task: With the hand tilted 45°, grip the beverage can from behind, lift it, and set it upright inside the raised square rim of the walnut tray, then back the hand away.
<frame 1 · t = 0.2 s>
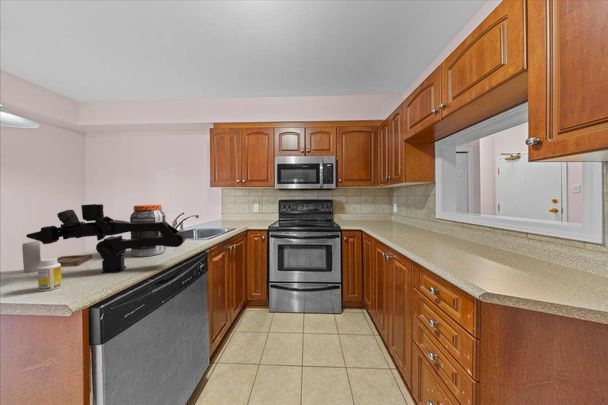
hand: (36, 233, 94), 17 cm above the counter, tool horizontal, fingers open, 9 cm apart
walnut tray: (69, 262, 111), on the counter
supplement bottle: (50, 289, 83), on the counter
beverage can: (32, 271, 100), on the counter
supplement tub: (149, 253, 128), on the counter
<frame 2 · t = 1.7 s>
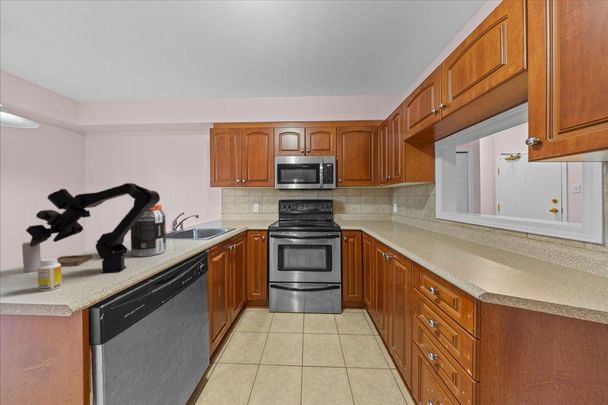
hand: (43, 243, 99), 12 cm above the counter, tool tilted 45°, fingers open, 9 cm apart
nothing on the counter moved.
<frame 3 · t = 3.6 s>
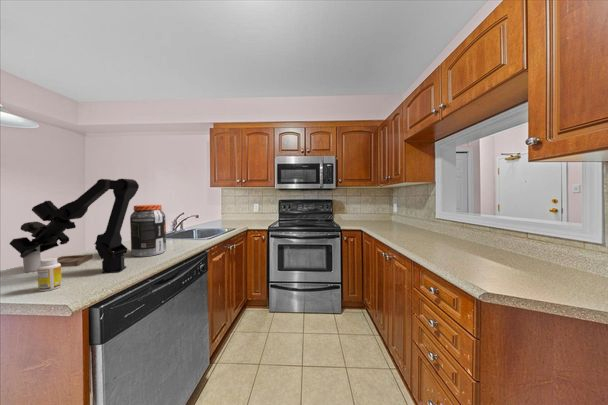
hand: (28, 255, 99), 7 cm above the counter, tool tilted 45°, fingers closed on beverage can, 5 cm apart
beverage can: (32, 271, 100), on the counter, touching gripper
everything else where it was.
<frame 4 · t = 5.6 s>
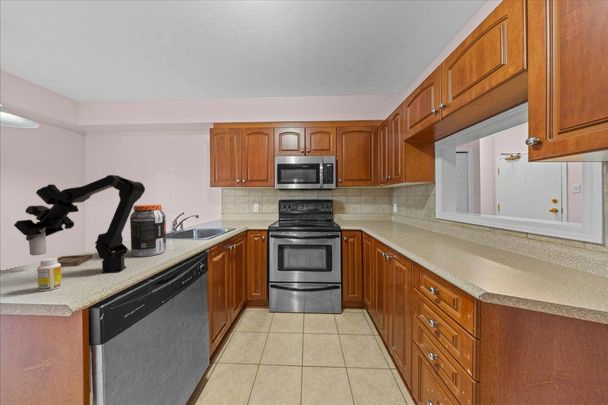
hand: (34, 238, 101), 13 cm above the counter, tool tilted 45°, fingers closed on beverage can, 5 cm apart
beverage can: (38, 254, 101), point 6 cm above the counter, touching gripper
everything else where it was.
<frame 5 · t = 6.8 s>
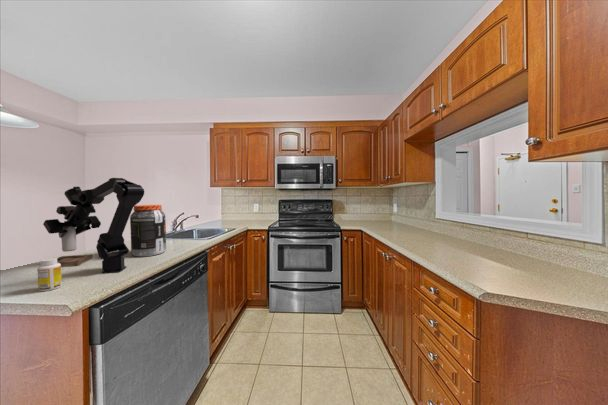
hand: (66, 236, 111), 12 cm above the counter, tool tilted 45°, fingers closed on beverage can, 5 cm apart
beverage can: (69, 250, 111), point 6 cm above the counter, touching gripper
everything else where it was.
when the fingers open (9 cm above the counter, at t = 7.9 s): beverage can stays where it is, resting on walnut tray.
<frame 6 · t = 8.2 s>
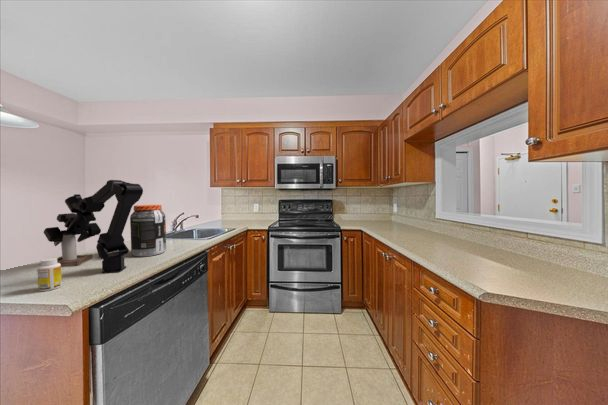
hand: (66, 243, 111), 9 cm above the counter, tool tilted 45°, fingers open, 8 cm apart
beverage can: (69, 260, 111), point 1 cm above the counter, touching walnut tray
everything else where it was.
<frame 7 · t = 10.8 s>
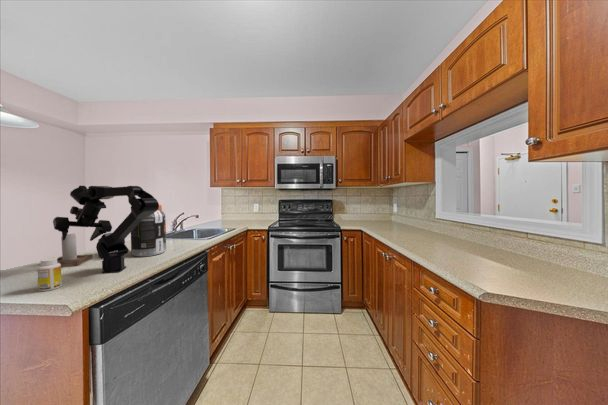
hand: (77, 240, 106), 12 cm above the counter, tool tilted 35°, fingers open, 9 cm apart
nothing on the counter moved.
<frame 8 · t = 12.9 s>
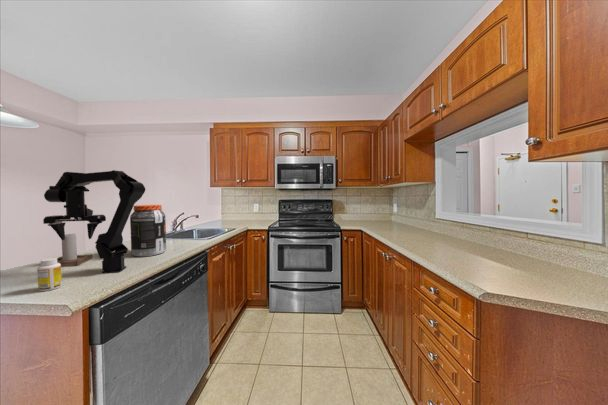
hand: (76, 239, 101), 13 cm above the counter, tool pointing down, fingers open, 9 cm apart
nothing on the counter moved.
at the end: beverage can 0.1 cm off-centre on the walnut tray, point 1.0 cm above the walnut tray's base; beverage can tilted 0°; the gripper is holding nothing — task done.
